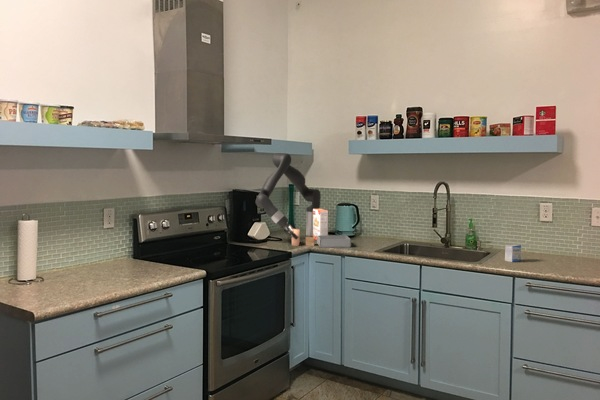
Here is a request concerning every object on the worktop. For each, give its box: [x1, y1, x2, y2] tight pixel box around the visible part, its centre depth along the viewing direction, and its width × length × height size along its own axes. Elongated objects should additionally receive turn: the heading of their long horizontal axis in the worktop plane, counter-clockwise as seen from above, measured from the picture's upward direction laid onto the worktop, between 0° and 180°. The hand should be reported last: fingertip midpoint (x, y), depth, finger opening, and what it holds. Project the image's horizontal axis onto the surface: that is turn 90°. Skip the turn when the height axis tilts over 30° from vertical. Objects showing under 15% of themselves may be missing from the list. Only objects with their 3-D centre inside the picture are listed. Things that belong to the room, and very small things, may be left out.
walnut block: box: [305, 236, 315, 247], centre depth 318 cm, size 5×5×5 cm
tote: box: [316, 234, 352, 249], centre depth 319 cm, size 17×19×5 cm
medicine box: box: [504, 243, 522, 263], centre depth 272 cm, size 8×4×9 cm, turn 122°
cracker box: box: [312, 208, 329, 241], centre depth 337 cm, size 14×6×21 cm, turn 19°
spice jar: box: [291, 228, 301, 247], centre depth 318 cm, size 5×5×10 cm
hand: (297, 237), depth 318 cm, fingers open, 7 cm apart
